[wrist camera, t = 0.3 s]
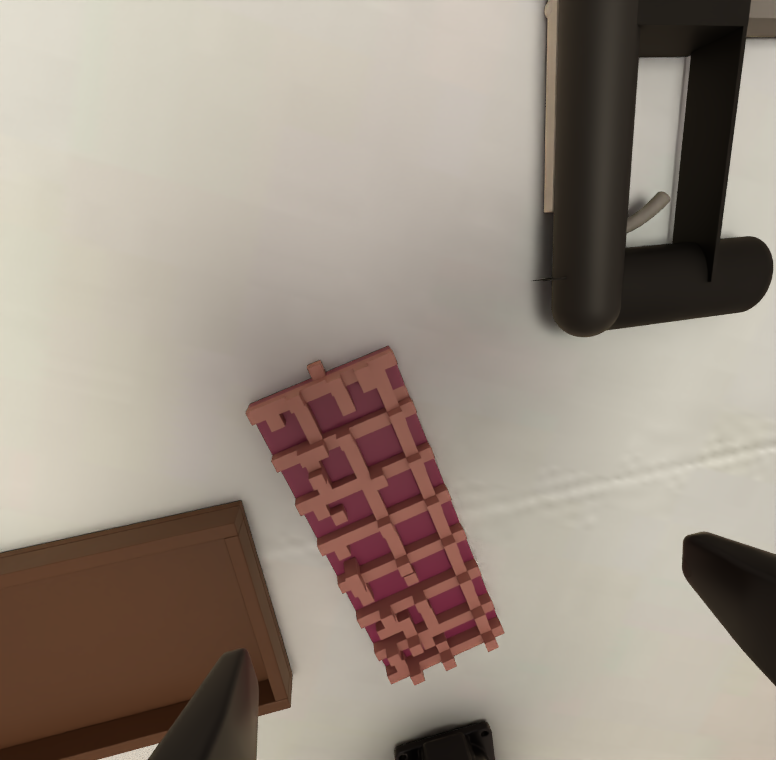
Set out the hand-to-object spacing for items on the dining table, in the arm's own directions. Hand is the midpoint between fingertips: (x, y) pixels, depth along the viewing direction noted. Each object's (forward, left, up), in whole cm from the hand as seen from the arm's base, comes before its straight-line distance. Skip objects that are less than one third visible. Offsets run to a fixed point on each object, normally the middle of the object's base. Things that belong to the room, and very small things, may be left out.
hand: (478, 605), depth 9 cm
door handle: (+11, -16, -14) cm, 24 cm away
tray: (-10, +20, -14) cm, 26 cm away
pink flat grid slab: (-7, +1, -14) cm, 16 cm away
